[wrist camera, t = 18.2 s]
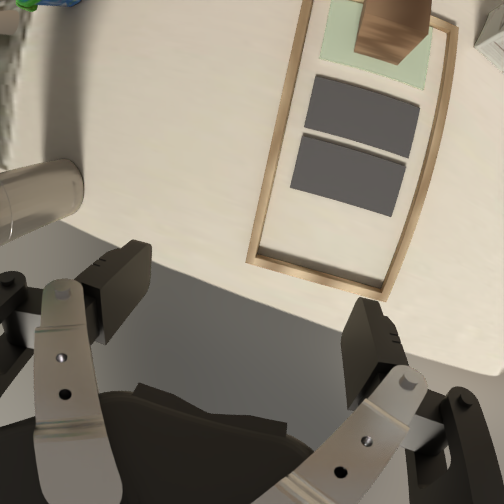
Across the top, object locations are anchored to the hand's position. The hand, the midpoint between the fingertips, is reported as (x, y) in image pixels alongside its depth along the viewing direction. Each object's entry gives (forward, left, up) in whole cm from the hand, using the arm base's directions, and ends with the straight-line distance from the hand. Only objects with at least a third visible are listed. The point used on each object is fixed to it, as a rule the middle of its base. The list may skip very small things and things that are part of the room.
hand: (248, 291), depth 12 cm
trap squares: (+5, +7, -25) cm, 27 cm away
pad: (+5, +19, -25) cm, 32 cm away
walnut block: (+5, +19, -25) cm, 32 cm away
